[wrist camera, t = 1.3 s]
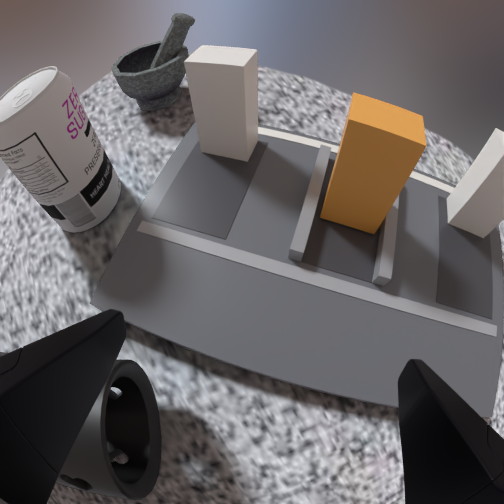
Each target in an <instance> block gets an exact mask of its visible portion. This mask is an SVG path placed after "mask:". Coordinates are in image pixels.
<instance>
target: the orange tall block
mask: <svg viewBox="0 0 504 504" xmlns="http://www.w3.org/2000/svg"><path fill="white" fill-rule="evenodd" d="M425 147H426V139H425V130H424V123H423V117H422V116H421V115H418V114H416V113H413V112H410V111H408V110H405V109H403V108H400V107H397V106H394V105H391V104H388V103H385V102H383V101H379V100H376V99H373V98H370V97H367V96H364V95H360V94H357V93H353V96H352V100H351V104H350V108H349V112H348V116H347V119H346V123H345V127H344V131H343V135H342V138H341V142H340V146H339V149H338V153H337V156H336V160H335V164H334V167H333V171H332V174H331V177H330V181H329V184H328V188H327V191H326V196H325V200H324V204H323V208H322V211H321V215H320V218H322V219H326V220H329V221H332V222H336V223H339V224H342V225H346V226H349V227H352V228H355V229H359V230H362V231H365V232H368V233H371V234H375V232H376V231H377V229H378V228H379V226H380V225H381V223H382V221H383V220H384V218H385V217H386V215H387V213H388V212H389V210H390V208H391V207H392V205H393V204H394V202H395V200H396V199H397V197H398V195H399V194H400V192H401V190H402V188H403V187H404V185H405V183H406V182H407V180H408V178H409V176H410V175H411V173H412V171H413V169H414V168H415V166H416V164H417V162H418V160H419V159H420V157H421V155H422V153H423V151H424V149H425Z"/></svg>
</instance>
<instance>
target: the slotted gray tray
mask: <svg viewBox="0 0 504 504" xmlns="http://www.w3.org/2000/svg"><path fill="white" fill-rule="evenodd" d="M257 58H258V55H257V50H255V49H246V48H236V47H223V46H206V45H202V46H201V47H199V48H198V49H197V50H196V51H195V52H194V53H193V54H192V55H191V56H189V57H188V58H187V59H186V60H185V61H184V65H185V70H186V76H187V81H188V87H189V92H190V97H191V102H192V107H193V113H194V118H195V123H194V124H193V125H192V127H191V128H190V130H189V131H188V132H187V134H186V135H185V137H184V138H183V140H182V141H181V142H180V144H179V145H178V147H177V148H176V150H175V151H174V153H173V154H172V156H171V157H170V159H169V160H168V162H167V163H166V165H165V167H164V168H163V170H162V171H161V173H160V174H159V176H158V177H157V179H156V181H155V182H154V184H153V186H152V187H151V189H150V190H149V192H148V194H147V195H146V197H145V199H144V200H143V202H142V204H141V205H140V207H139V209H138V211H137V212H136V214H135V216H134V218H133V219H132V221H131V223H130V225H129V226H128V228H127V230H126V232H125V234H124V235H123V237H122V239H121V241H120V243H119V245H118V247H117V249H116V250H115V252H114V254H113V256H112V258H111V260H110V262H109V264H108V266H107V268H106V270H105V272H104V274H103V276H102V278H101V280H100V282H99V284H98V287H97V289H96V291H95V293H94V295H93V297H92V299H91V302H90V304H92V305H93V306H95V307H96V308H98V309H100V310H101V311H103V312H104V311H106V310H109V309H115V310H118V311H121V312H122V313H123V315H124V321H125V323H128V324H130V325H132V326H134V327H136V328H139V329H141V330H143V331H145V332H148V333H150V334H152V335H154V336H157V337H159V338H161V339H164V340H166V341H169V342H171V343H173V344H176V345H178V346H181V347H183V348H186V349H188V350H191V351H194V352H196V353H199V354H201V355H204V356H207V357H209V358H212V359H215V360H218V361H220V362H223V363H226V364H229V365H232V366H235V367H238V368H241V369H244V370H247V371H250V372H253V373H256V374H259V375H262V376H265V377H269V378H272V379H275V380H278V381H282V382H285V383H289V384H292V385H296V386H299V387H303V388H307V389H311V390H314V391H318V392H322V393H326V394H330V395H334V396H339V397H343V398H347V399H352V400H357V401H361V402H366V403H371V404H376V405H381V406H387V407H392V408H398V409H399V405H398V378H399V376H400V374H401V372H402V371H403V369H404V367H405V365H406V363H407V362H408V361H409V360H410V359H421V360H423V361H424V362H425V363H426V364H427V365H428V366H429V367H430V368H431V369H432V370H433V371H434V372H435V373H436V374H437V375H439V376H440V377H441V378H442V379H443V380H444V381H445V382H446V383H447V384H448V385H449V386H450V387H451V388H452V389H453V390H454V391H455V392H456V393H457V394H458V395H459V396H460V397H461V398H462V399H463V400H465V401H466V402H467V403H468V404H469V405H470V406H471V407H472V408H473V409H474V410H475V411H476V412H477V413H478V414H479V415H480V416H481V417H482V418H488V417H492V412H493V408H494V403H495V397H496V391H497V385H498V379H499V371H500V363H501V353H502V341H503V323H504V281H503V263H502V251H501V241H500V232H499V225H498V224H499V223H500V222H501V221H502V220H503V219H504V132H502V131H500V130H499V129H497V128H496V129H495V131H494V132H493V134H492V135H491V137H490V138H489V140H488V142H487V143H486V145H485V146H484V148H483V149H482V151H481V152H480V153H479V155H478V156H477V158H476V159H475V161H474V162H473V164H472V165H471V166H470V168H469V169H468V171H467V172H466V174H465V175H464V176H463V178H462V179H461V180H460V182H459V183H458V184H457V186H455V185H453V184H451V183H449V182H446V181H444V180H441V179H439V178H437V177H434V176H432V175H429V174H427V173H424V172H422V171H419V170H416V169H413V171H412V173H411V175H410V176H409V178H408V180H407V182H406V183H405V185H404V187H403V188H402V190H401V192H400V194H399V195H398V197H397V199H396V200H395V202H394V204H393V205H392V207H391V208H390V210H389V212H388V213H387V215H386V217H385V218H384V220H383V221H382V223H381V225H380V226H379V228H378V229H377V231H376V232H375V234H371V233H368V232H365V231H362V230H359V229H355V228H352V227H349V226H346V225H342V224H339V223H336V222H332V221H329V220H326V219H322V218H320V215H321V211H322V208H323V204H324V200H325V196H326V191H327V188H328V184H329V181H330V177H331V174H332V171H333V167H334V164H335V160H336V156H337V153H338V149H339V146H340V144H338V143H335V142H331V141H328V140H324V139H320V138H316V137H313V136H309V135H305V134H301V133H296V132H292V131H288V130H284V129H279V128H275V127H270V126H265V125H260V124H258V60H257Z"/></svg>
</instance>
